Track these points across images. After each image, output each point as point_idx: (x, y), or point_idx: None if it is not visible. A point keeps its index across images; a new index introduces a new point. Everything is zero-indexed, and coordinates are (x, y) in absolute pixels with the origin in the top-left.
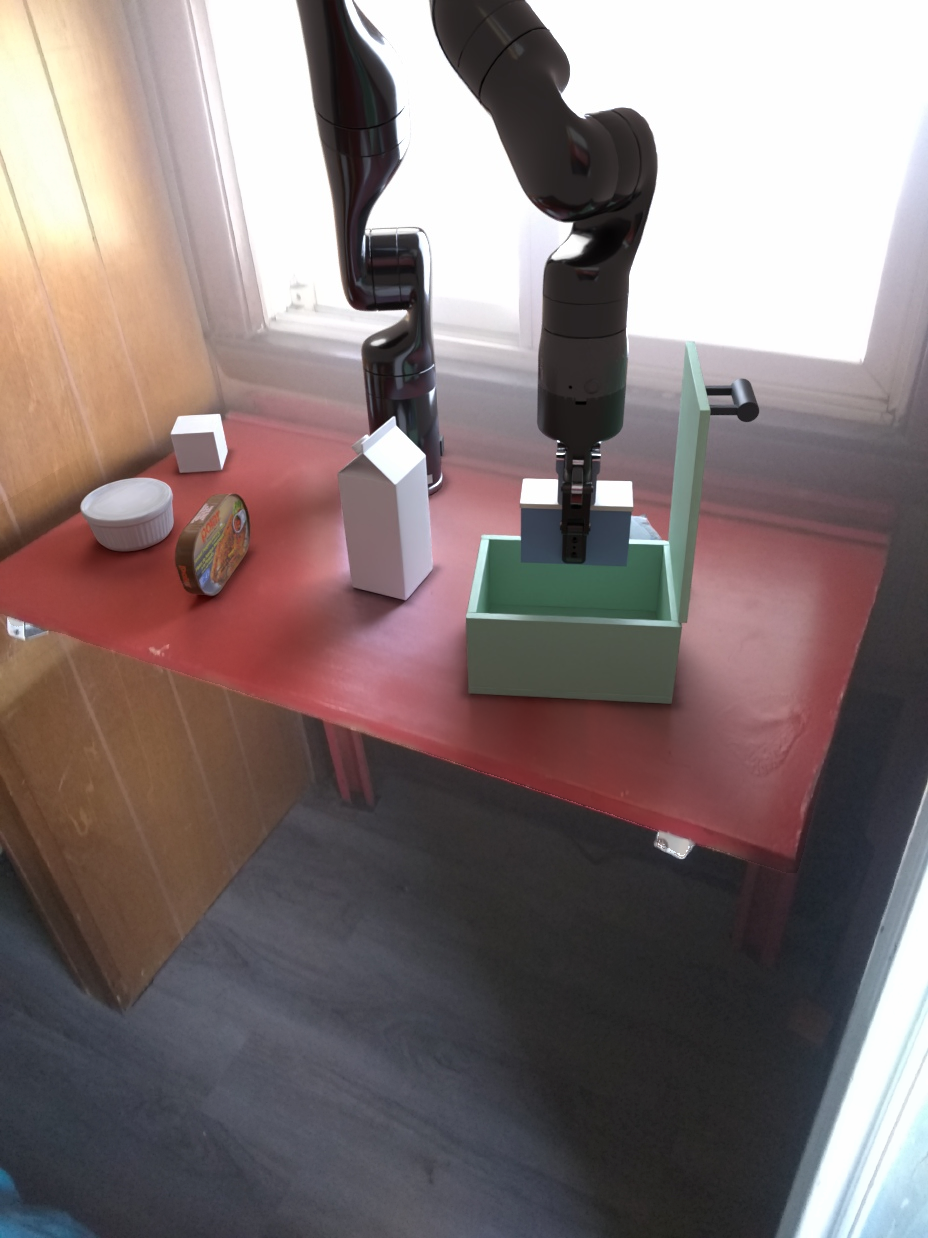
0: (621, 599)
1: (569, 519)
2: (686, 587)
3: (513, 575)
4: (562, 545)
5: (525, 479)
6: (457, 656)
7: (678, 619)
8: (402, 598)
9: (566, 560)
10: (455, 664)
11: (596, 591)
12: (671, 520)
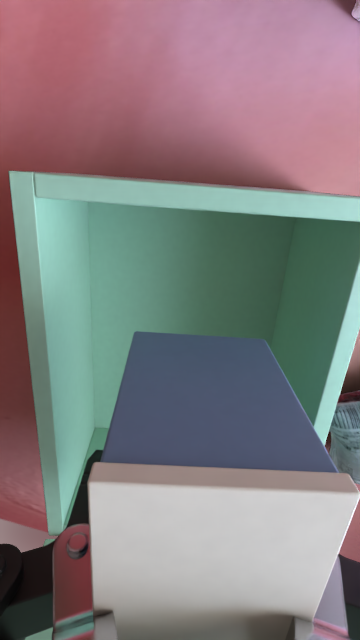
0: None
1: (31, 602)
2: None
3: (312, 260)
4: None
5: (346, 503)
6: (170, 148)
7: (43, 545)
8: (355, 4)
9: (95, 451)
10: (149, 145)
11: None
12: None
